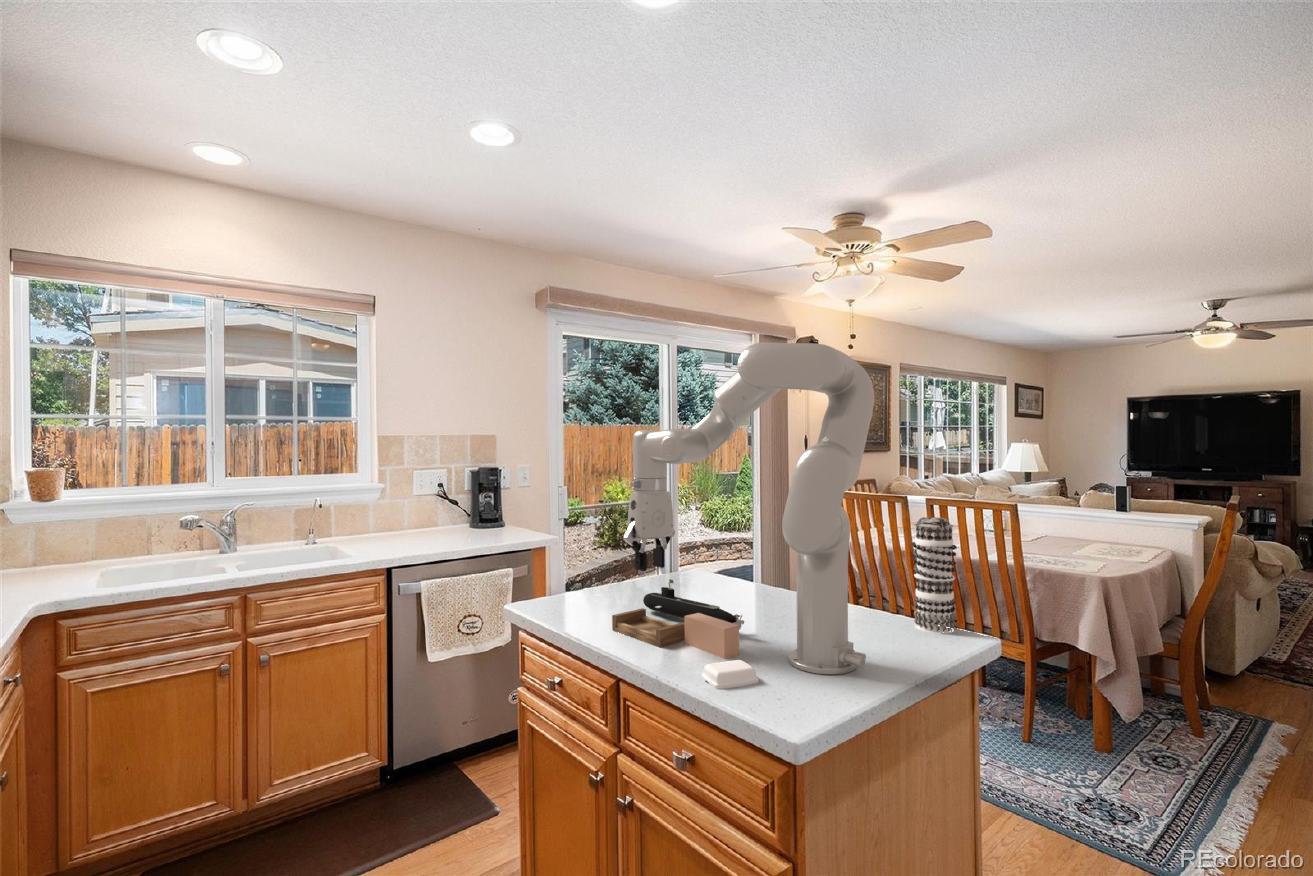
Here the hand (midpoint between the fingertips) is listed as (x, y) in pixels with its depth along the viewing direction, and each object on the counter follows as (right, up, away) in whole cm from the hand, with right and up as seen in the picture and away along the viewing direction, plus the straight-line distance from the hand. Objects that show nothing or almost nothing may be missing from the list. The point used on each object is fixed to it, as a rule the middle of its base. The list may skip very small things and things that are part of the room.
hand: (649, 567), depth 140 cm
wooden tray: (0, -15, 0) cm, 15 cm away
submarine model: (+9, -15, +8) cm, 19 cm away
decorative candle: (+64, -15, +3) cm, 66 cm away
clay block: (+13, -15, -10) cm, 22 cm away
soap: (+15, -15, -27) cm, 34 cm away
